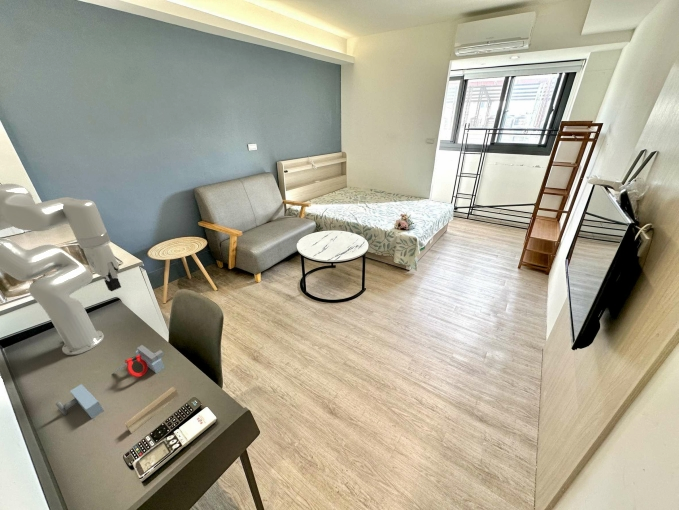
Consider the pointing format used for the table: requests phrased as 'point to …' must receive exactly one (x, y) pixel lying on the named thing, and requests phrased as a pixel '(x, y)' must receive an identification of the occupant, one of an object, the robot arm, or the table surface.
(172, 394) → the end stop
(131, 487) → the table surface
